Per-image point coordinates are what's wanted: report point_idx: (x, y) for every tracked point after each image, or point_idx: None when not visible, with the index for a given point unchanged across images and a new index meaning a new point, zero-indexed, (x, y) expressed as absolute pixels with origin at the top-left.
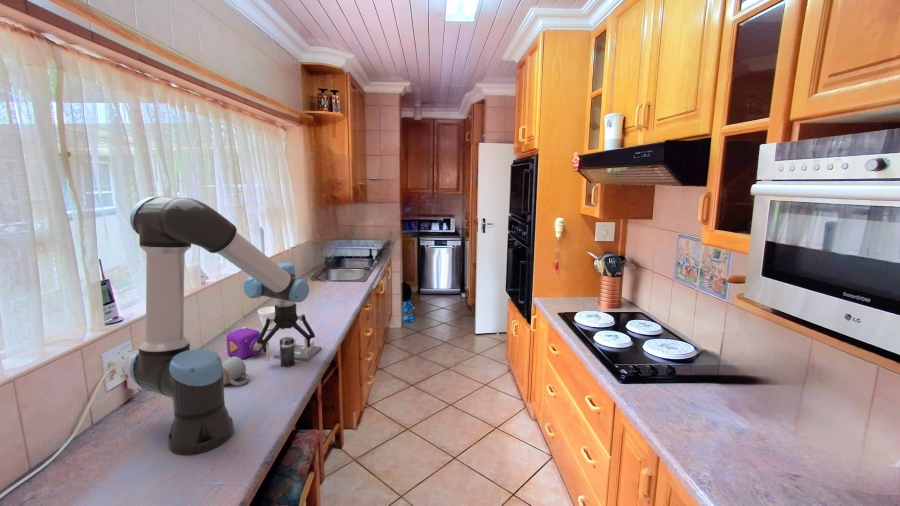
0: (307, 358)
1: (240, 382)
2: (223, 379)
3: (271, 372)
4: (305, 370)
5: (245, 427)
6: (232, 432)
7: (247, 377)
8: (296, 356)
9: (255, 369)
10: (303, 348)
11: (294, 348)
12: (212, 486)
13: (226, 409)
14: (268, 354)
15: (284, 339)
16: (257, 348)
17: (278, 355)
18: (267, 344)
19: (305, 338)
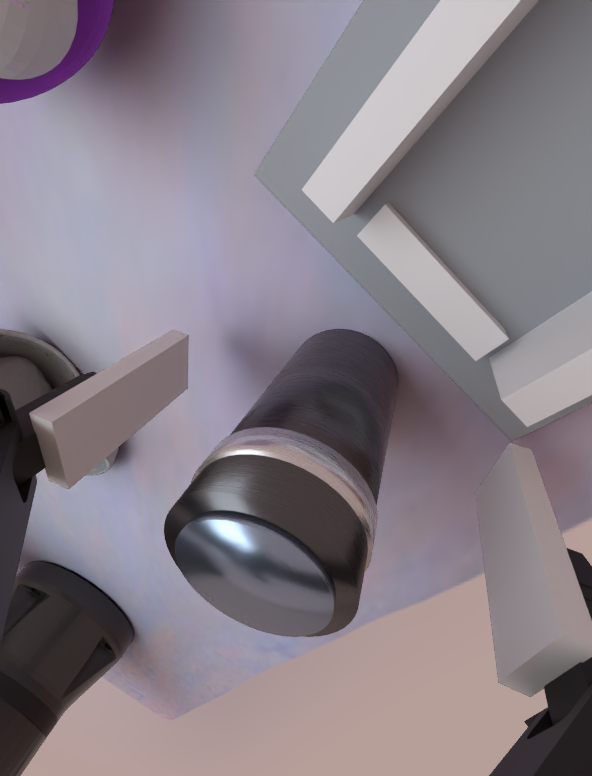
0: (513, 439)
1: (89, 474)
2: None
3: (226, 425)
4: (414, 527)
5: (156, 638)
6: (131, 640)
7: (105, 460)
8: (444, 344)
9: (139, 328)
10: (539, 411)
11: (561, 32)
12: (131, 689)
13: (76, 690)
14: (147, 418)
15: (217, 576)
16: (30, 77)
17: (293, 210)
18: (58, 480)
19: (567, 648)
